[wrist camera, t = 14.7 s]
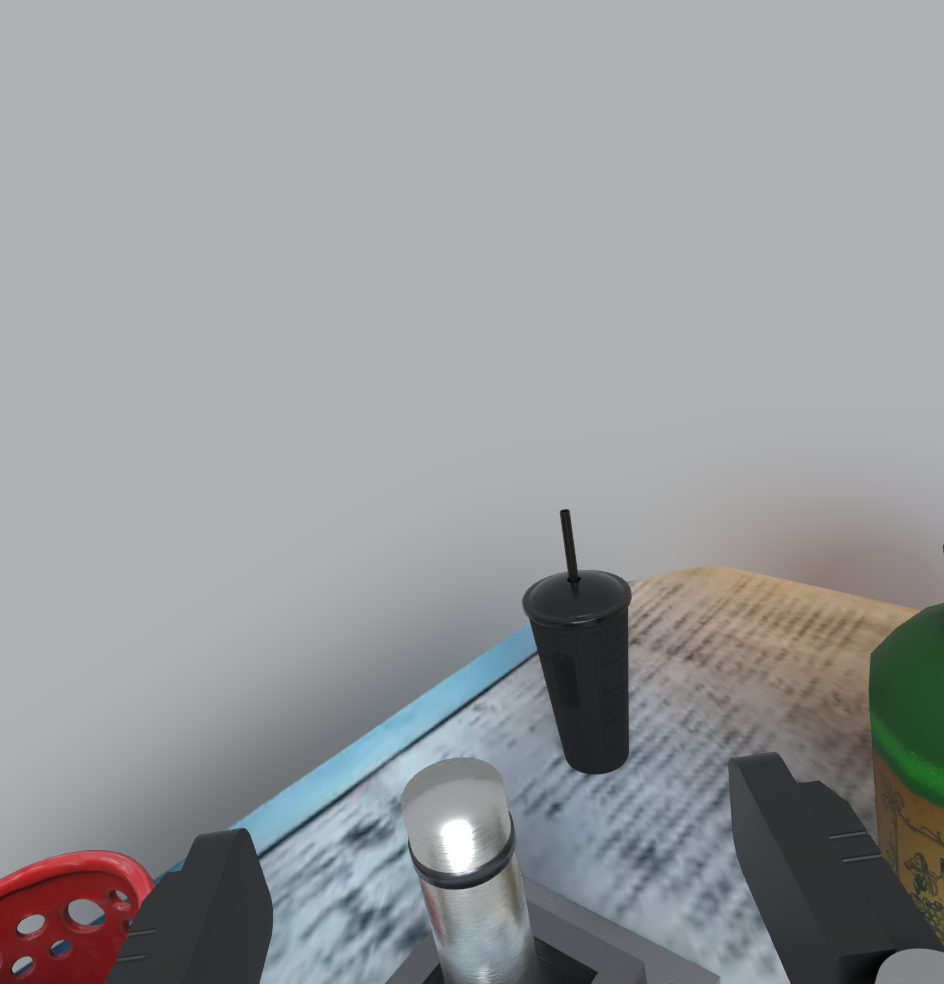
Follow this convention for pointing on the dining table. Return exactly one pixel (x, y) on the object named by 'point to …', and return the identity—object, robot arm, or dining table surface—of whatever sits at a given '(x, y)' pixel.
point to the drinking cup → (584, 658)
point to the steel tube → (470, 873)
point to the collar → (574, 950)
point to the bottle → (911, 757)
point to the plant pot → (48, 892)
